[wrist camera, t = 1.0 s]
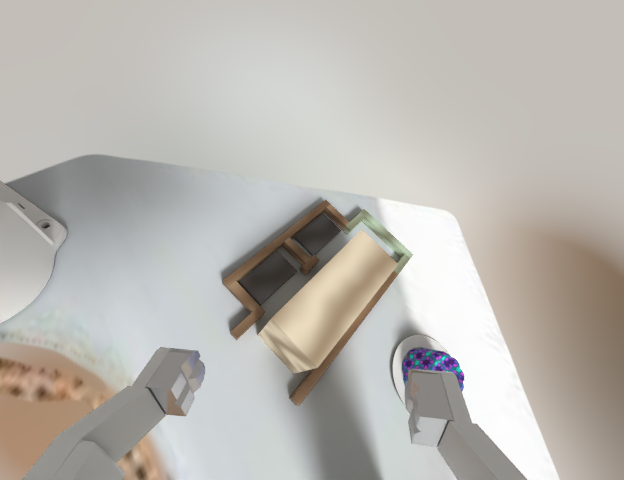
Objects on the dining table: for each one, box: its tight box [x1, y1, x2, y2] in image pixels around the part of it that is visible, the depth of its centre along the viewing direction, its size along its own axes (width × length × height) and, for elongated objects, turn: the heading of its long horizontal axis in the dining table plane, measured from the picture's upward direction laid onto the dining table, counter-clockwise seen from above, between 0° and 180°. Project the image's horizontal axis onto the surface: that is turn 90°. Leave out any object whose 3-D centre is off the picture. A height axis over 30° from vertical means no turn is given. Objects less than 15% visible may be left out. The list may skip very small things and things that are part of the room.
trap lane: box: [223, 200, 413, 406], centre depth 45 cm, size 18×32×2 cm, turn 138°
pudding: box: [393, 335, 464, 405], centre depth 41 cm, size 12×12×5 cm
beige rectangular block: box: [258, 230, 398, 374], centre depth 38 cm, size 7×18×10 cm, turn 138°
